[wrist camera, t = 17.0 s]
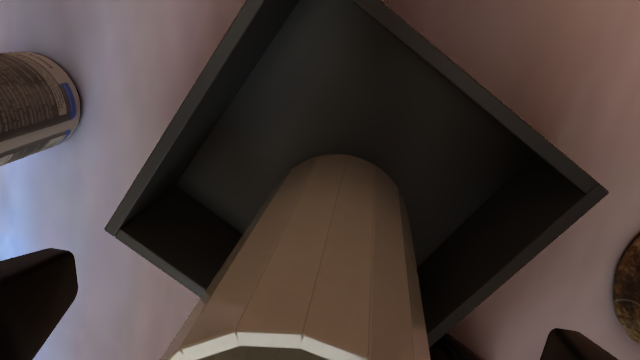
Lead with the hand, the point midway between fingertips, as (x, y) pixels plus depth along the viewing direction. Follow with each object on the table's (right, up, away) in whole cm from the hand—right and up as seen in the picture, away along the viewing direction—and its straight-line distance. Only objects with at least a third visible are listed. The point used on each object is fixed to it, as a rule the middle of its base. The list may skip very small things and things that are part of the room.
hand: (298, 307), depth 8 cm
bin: (+2, +3, +13) cm, 13 cm away
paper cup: (+1, 0, +13) cm, 13 cm away
